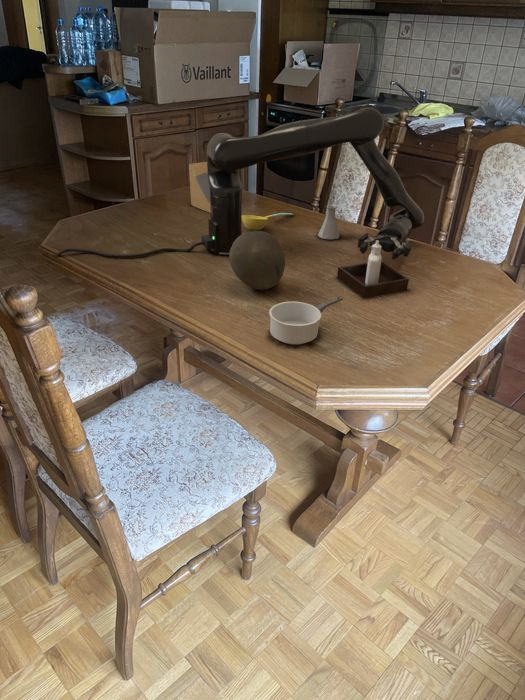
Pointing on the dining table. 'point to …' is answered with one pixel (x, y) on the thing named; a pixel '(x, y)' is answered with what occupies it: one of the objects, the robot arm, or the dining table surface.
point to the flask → (329, 225)
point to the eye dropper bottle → (374, 265)
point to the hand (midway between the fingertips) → (378, 253)
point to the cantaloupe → (257, 259)
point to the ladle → (257, 221)
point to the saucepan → (297, 321)
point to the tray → (386, 284)
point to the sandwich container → (199, 186)
